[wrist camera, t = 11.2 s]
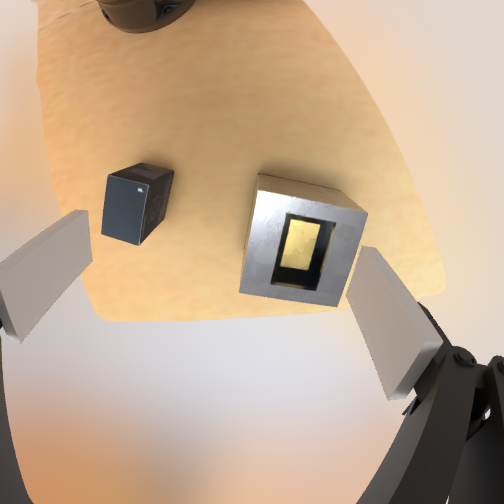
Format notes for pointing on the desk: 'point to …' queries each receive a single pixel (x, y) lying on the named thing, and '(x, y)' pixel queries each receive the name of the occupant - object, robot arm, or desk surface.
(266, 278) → the gray slotted cube
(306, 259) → the yellow rectangular block
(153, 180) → the box
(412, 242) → the desk surface
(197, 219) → the desk surface
